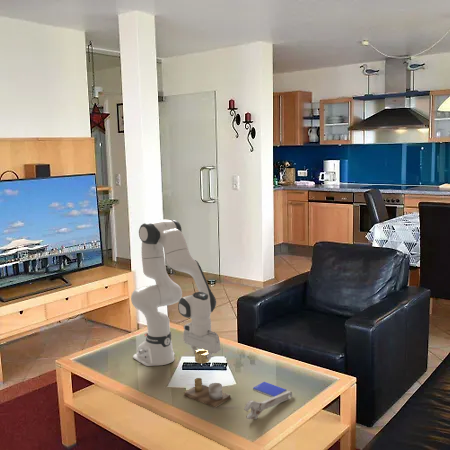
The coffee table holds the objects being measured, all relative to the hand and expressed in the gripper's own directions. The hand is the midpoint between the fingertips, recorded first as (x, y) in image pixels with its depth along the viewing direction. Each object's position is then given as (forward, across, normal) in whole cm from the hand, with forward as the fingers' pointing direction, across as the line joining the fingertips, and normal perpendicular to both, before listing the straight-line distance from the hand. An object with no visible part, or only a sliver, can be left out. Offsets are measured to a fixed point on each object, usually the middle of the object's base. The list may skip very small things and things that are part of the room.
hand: (202, 356), depth 248 cm
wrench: (+10, -41, +4) cm, 42 cm away
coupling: (+2, 0, 0) cm, 2 cm away
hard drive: (+11, -31, -10) cm, 34 cm away
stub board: (+11, -13, +11) cm, 20 cm away
